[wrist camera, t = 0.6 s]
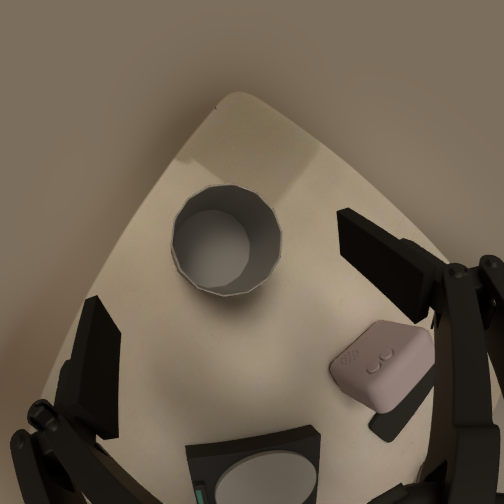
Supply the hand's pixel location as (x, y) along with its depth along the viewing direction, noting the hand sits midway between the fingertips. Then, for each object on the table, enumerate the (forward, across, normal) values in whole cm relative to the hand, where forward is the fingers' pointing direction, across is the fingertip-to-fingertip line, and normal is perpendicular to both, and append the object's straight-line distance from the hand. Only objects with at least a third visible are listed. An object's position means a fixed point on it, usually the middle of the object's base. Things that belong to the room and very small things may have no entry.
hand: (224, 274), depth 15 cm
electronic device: (+8, +13, -24) cm, 28 cm away
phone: (+3, +20, -35) cm, 40 cm away
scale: (+1, -6, -32) cm, 32 cm away
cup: (+16, 0, -7) cm, 17 cm away
